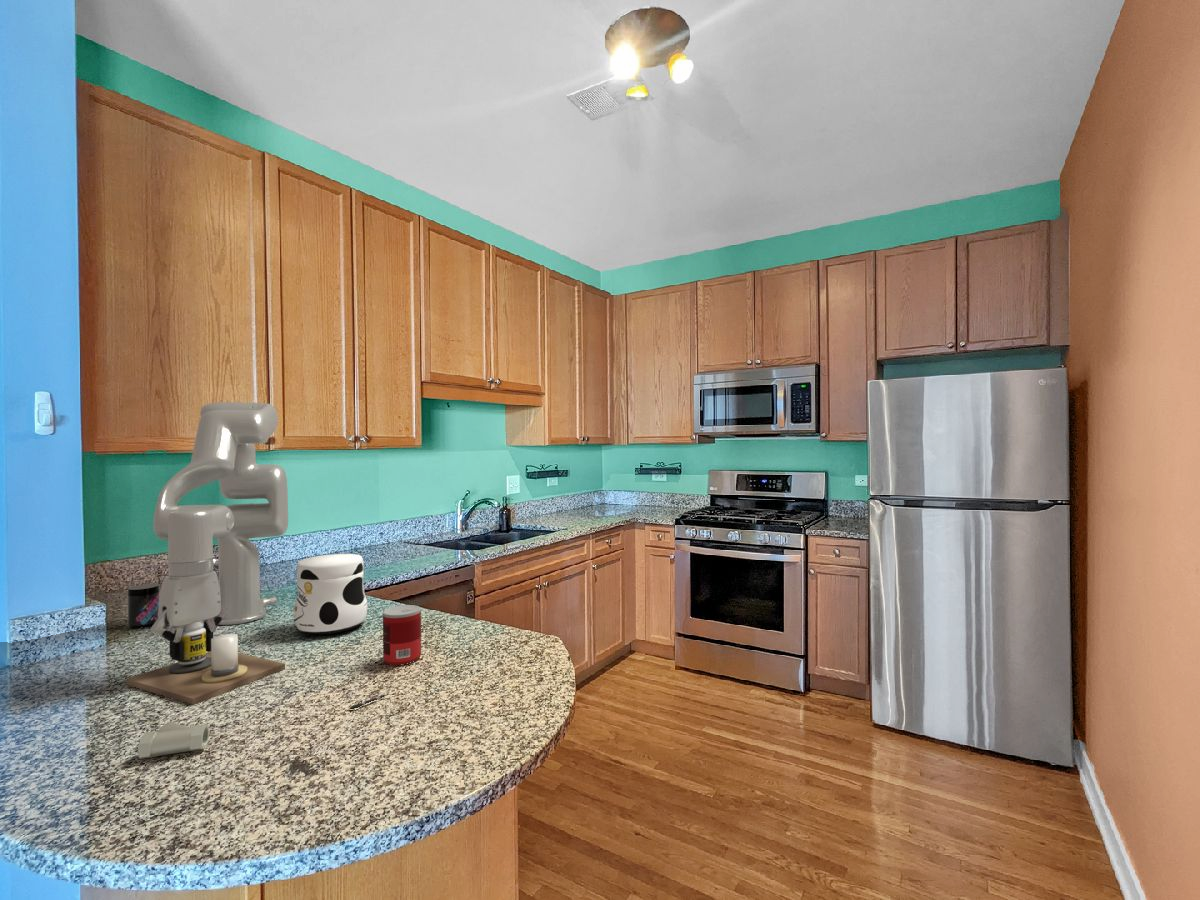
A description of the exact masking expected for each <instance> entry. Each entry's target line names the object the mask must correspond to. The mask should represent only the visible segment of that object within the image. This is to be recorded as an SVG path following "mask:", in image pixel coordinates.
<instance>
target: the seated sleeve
mask: <svg viewBox="0 0 1200 900" xmlns="http://www.w3.org/2000/svg"><path fill="white" fill-rule="evenodd" d="M238 636H239V635H238V634H237V633H225V634H220V635H216V636H213V638H212V639H211V651H210V652H211V676H213V677H222V676H227V675H231V674H234V673H236V672H237V671H238V670H239V664H238V653H239V649H238V648H239V647H238V645H239V644H238V643H239V642H238V639H239V637H238Z"/></svg>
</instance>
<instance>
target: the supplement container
mask: <svg viewBox="0 0 1200 900" xmlns="http://www.w3.org/2000/svg"><path fill="white" fill-rule="evenodd" d="M160 592H161V585H160V583H143V584H136V585H132V586H129V587H127V591H126V593H127V594H126V595H127V627H128V628H129V629H131V628H141V627H147V626H151V627H152V625H154V623H155V622H156V621H157V619H158V610H159V599H160ZM147 628H148V627H147ZM141 629H142V628H141Z"/></svg>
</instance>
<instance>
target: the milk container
mask: <svg viewBox="0 0 1200 900" xmlns="http://www.w3.org/2000/svg"><path fill="white" fill-rule="evenodd" d="M364 575H365V574H364V558H363V556H362V555H360V554H355V553H353V554H352V553H334V554H324V555H317V556H312V557H307V558H303V559H300V560H298V561H297V568H296V576H297V577H296V587H297V588H296V591H297V593H296V594H297V595H296V601H295V604H294V607H293V615H292V616H293V622H294V626H295V628H296V630H298V632H300V633H303V634H305V635H306V634H307V635H318V636H319V635H330V634H338V633H340V632H342V633H343V632H346V631H349V630H351V629H355V628H358V626H359V625H361V624H362V623H364V621H365V620H366V617H367V615H368V601H367V597H366V593H365V589H364Z"/></svg>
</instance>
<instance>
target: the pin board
mask: <svg viewBox="0 0 1200 900" xmlns="http://www.w3.org/2000/svg"><path fill="white" fill-rule="evenodd" d="M238 664H239V670H238V671H237V672H236V673H234V674H231V675H227V676H222V677H213V676H211V651H210V652H206V658H205V659H204V660H203V661H201V662H198V663H195V664H189V665H181V664H179V663H178V661H177V662H174V663H171V664H168V665H165V666H162V667H158V668H156V669H151V670H150V671H146V672H143V673H140V674H137V675H134V676H130V677H127V678H126V679H125V686H128V685H129V686H128V687H132V688H135V687H136V688H135V689H138V688H140V689H139V690H141V689H143V690H142V691H145V690H146V692H148V691H150V692H149V693H151V692H153V693H152V694H155V693H157V694H156V695H158V694H160V695H159V696H161V695H163V696H162V697H164V696H166V697H165V698H168V697H169V698H168V699H171V698H173V699H172V700H174V699H176V700H175V701H177V700H180V701H179V702H181V701H183V702H182V703H184V702H186V703H185V704H187V703H188V705H191V706H195V705H197V704H199V702H200V703H202V702H204V701H208V700H209V699H212V697H213V698H215V697H218V696H220V695H222V694H225V693H228V692H230V690H231V691H232V689H233V690H236V689H238V688H240V686H241V687H243V686H245V684H246V685H248V684H251V683H253V682H252V681H254V682H255V680H256V681H258V680H257V679H259V680H261V679H263V678H262V677H264V676H266V677H269V676H271V675H274V674H276V673H275V672H277V673H279V672H281V671H280V670H282V671H284V670H286V663H285V662H280V661H276V660H271V659H268V658H263V657H258V656H254V655H249V654H244V653H241V652H238ZM283 669H284V670H283ZM278 671H279V672H278ZM273 673H274V674H273ZM270 674H271V675H270ZM268 675H269V676H268ZM260 678H261V679H260ZM264 678H265V677H264ZM250 682H251V683H250ZM247 683H248V684H247ZM242 685H243V686H242ZM237 687H238V688H237ZM235 688H236V689H235ZM207 699H208V700H207ZM194 704H195V705H194Z"/></svg>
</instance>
